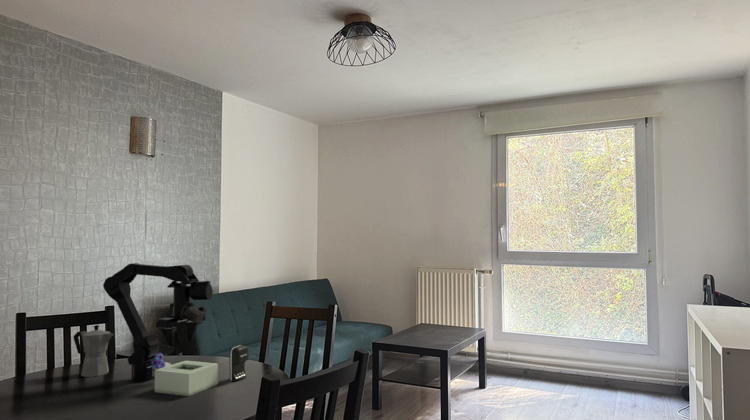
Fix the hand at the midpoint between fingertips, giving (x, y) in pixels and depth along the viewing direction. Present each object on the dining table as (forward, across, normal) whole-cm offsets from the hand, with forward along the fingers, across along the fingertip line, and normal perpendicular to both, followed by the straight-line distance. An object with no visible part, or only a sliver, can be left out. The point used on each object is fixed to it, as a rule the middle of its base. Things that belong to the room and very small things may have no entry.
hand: (181, 344), depth 177 cm
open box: (+12, -7, -9) cm, 17 cm away
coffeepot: (+13, -4, +38) cm, 40 cm away
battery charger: (+13, +8, -19) cm, 24 cm away
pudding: (+13, +12, +24) cm, 30 cm away
